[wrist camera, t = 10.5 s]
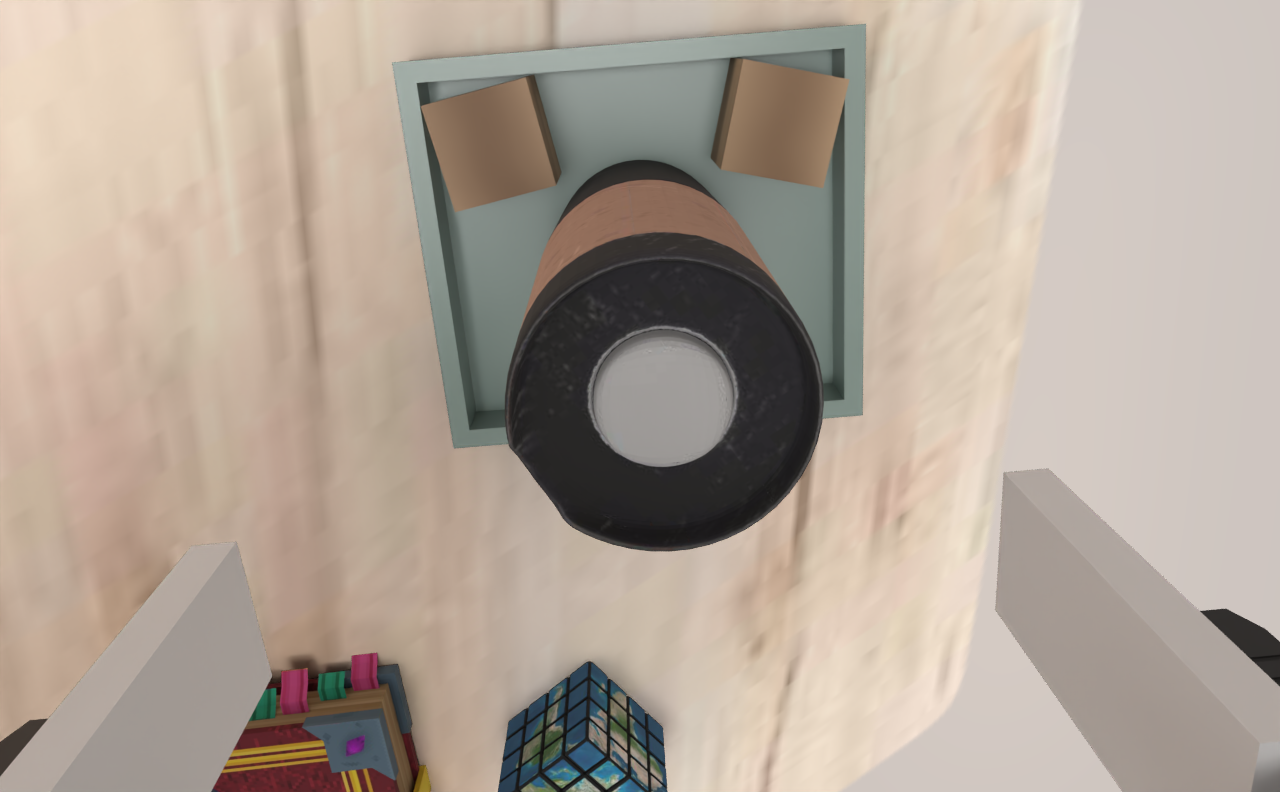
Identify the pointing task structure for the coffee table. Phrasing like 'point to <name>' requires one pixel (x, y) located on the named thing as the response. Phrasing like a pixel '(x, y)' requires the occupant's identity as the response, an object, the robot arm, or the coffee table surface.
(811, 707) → the coffee table surface
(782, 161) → the walnut block
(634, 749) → the puzzle
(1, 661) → the coffee table surface
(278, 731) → the decorative book
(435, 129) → the walnut block
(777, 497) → the travel mug
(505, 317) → the tray
